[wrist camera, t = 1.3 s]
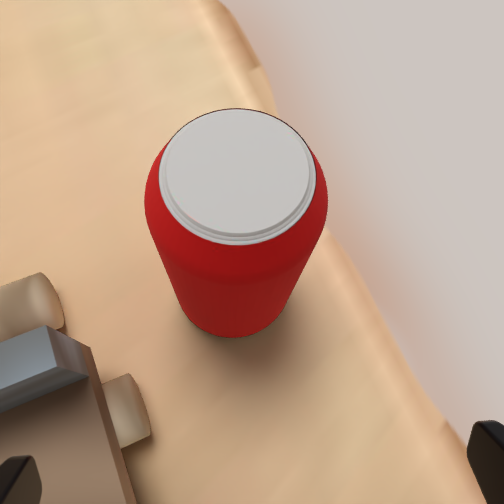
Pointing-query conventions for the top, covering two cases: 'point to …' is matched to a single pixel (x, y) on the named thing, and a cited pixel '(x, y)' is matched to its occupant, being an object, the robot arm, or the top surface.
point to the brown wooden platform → (68, 418)
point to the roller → (28, 306)
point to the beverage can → (235, 217)
